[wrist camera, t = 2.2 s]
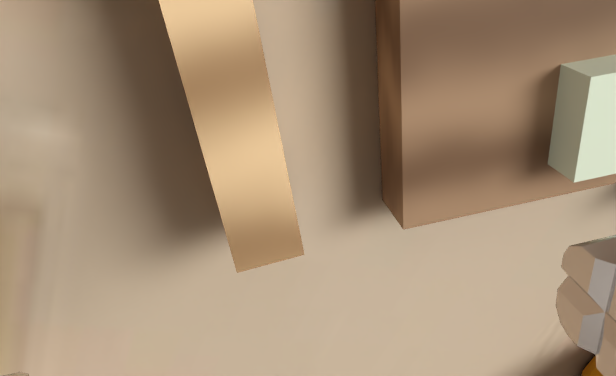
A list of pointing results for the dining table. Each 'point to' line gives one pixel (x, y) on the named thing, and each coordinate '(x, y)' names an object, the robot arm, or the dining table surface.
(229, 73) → the wooden plank piece
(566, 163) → the tile
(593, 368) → the apple
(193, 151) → the dining table surface
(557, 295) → the robot arm
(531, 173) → the board
